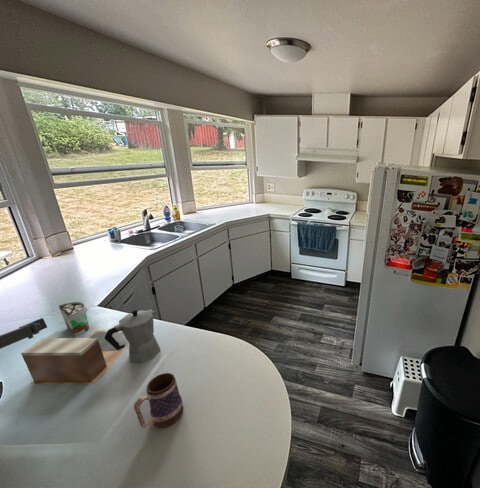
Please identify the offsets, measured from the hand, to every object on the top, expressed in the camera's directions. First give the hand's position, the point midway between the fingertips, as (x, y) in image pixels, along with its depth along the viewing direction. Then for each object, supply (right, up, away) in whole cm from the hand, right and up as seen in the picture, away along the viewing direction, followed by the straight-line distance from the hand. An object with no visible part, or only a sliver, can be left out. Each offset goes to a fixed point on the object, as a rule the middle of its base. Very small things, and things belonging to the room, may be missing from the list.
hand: (10, 334), depth 63 cm
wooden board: (+1, -15, +22) cm, 27 cm away
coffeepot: (+17, -16, +22) cm, 32 cm away
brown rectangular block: (+2, -17, +14) cm, 22 cm away
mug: (+37, -24, +2) cm, 44 cm away
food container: (-15, -10, +34) cm, 39 cm away
